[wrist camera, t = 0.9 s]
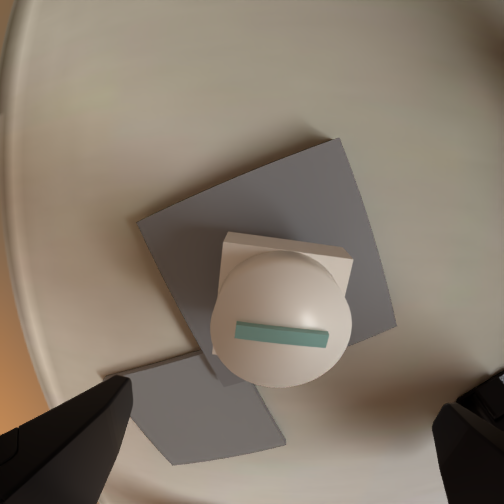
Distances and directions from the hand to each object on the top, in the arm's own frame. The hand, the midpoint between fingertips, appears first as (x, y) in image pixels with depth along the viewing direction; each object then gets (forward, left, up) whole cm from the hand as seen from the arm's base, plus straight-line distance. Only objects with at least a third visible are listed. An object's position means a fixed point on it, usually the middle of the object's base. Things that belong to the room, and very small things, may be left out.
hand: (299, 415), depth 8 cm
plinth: (0, 0, -12) cm, 12 cm away
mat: (-9, +10, -12) cm, 19 cm away
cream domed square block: (0, 0, -9) cm, 9 cm away
